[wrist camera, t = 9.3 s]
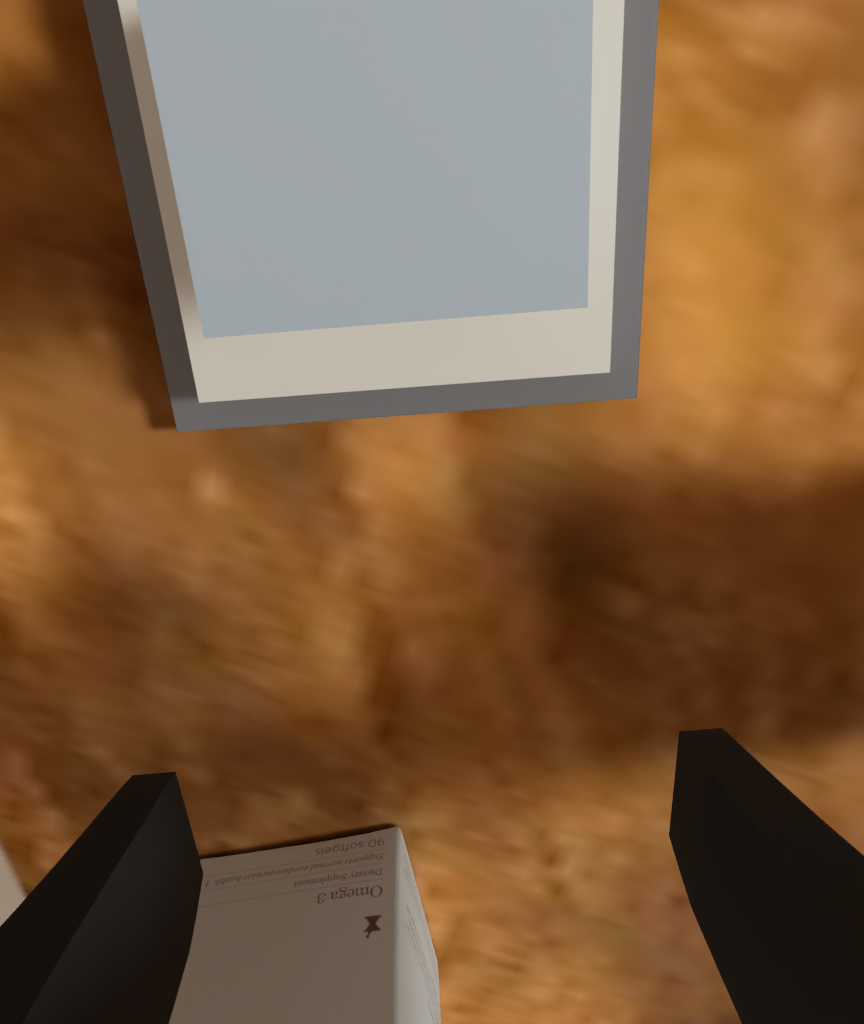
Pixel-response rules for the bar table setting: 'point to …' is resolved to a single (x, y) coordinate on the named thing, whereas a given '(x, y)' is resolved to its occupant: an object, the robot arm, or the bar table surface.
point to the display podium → (407, 345)
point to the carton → (376, 157)
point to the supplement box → (311, 938)
